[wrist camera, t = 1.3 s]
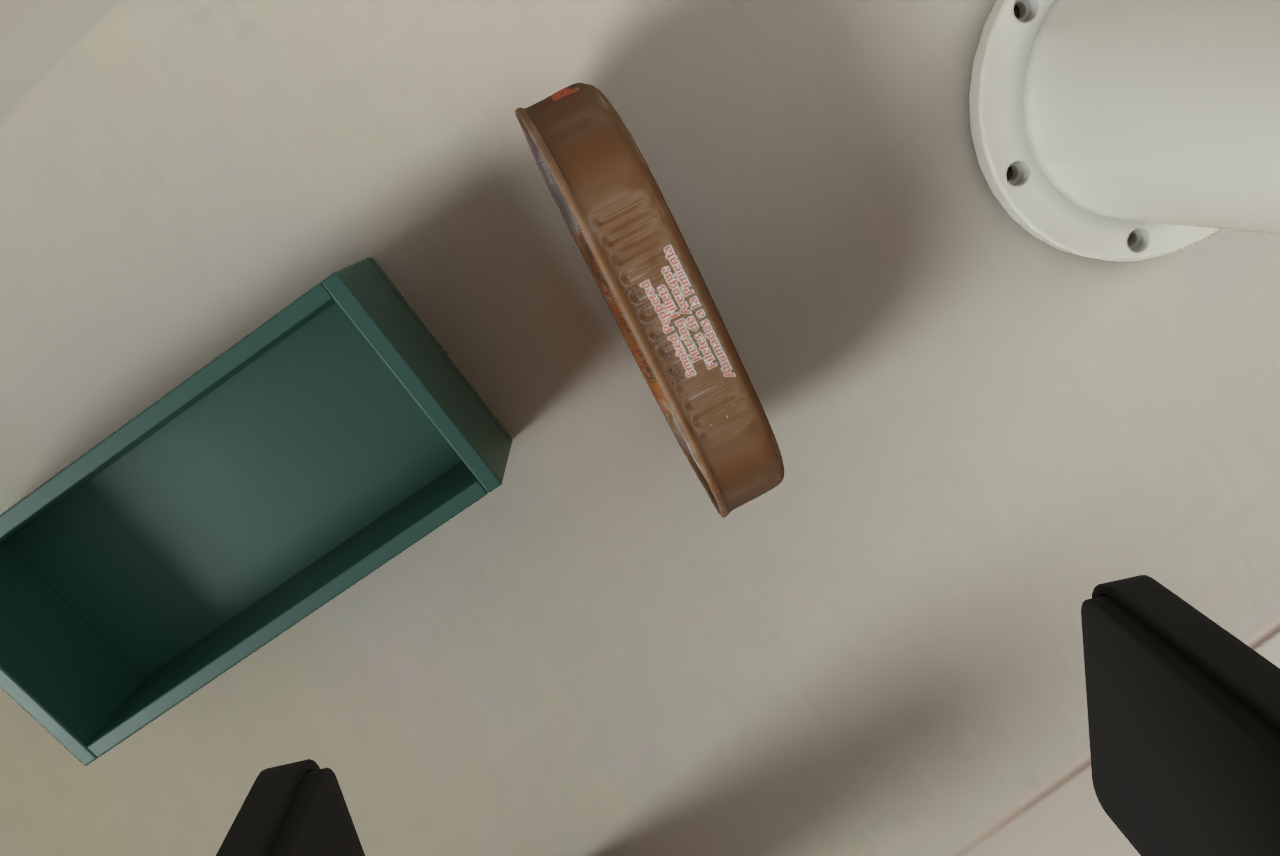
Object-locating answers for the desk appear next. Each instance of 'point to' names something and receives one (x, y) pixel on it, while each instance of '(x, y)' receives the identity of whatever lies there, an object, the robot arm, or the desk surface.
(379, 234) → the desk surface
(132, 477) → the box
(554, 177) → the tin
